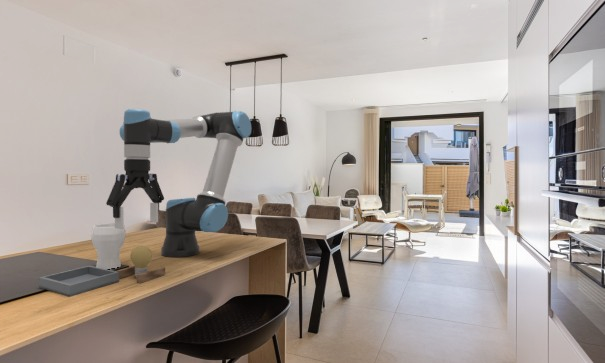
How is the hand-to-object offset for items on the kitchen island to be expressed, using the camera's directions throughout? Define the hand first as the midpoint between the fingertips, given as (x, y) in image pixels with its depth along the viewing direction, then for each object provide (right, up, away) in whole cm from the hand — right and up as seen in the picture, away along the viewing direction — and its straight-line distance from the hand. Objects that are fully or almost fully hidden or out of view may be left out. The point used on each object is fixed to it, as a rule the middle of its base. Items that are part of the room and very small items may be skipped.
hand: (137, 225), depth 109 cm
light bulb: (0, -17, +2) cm, 17 cm away
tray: (-14, -17, -7) cm, 23 cm away
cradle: (0, -17, +2) cm, 17 cm away
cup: (-16, -17, +12) cm, 26 cm away
